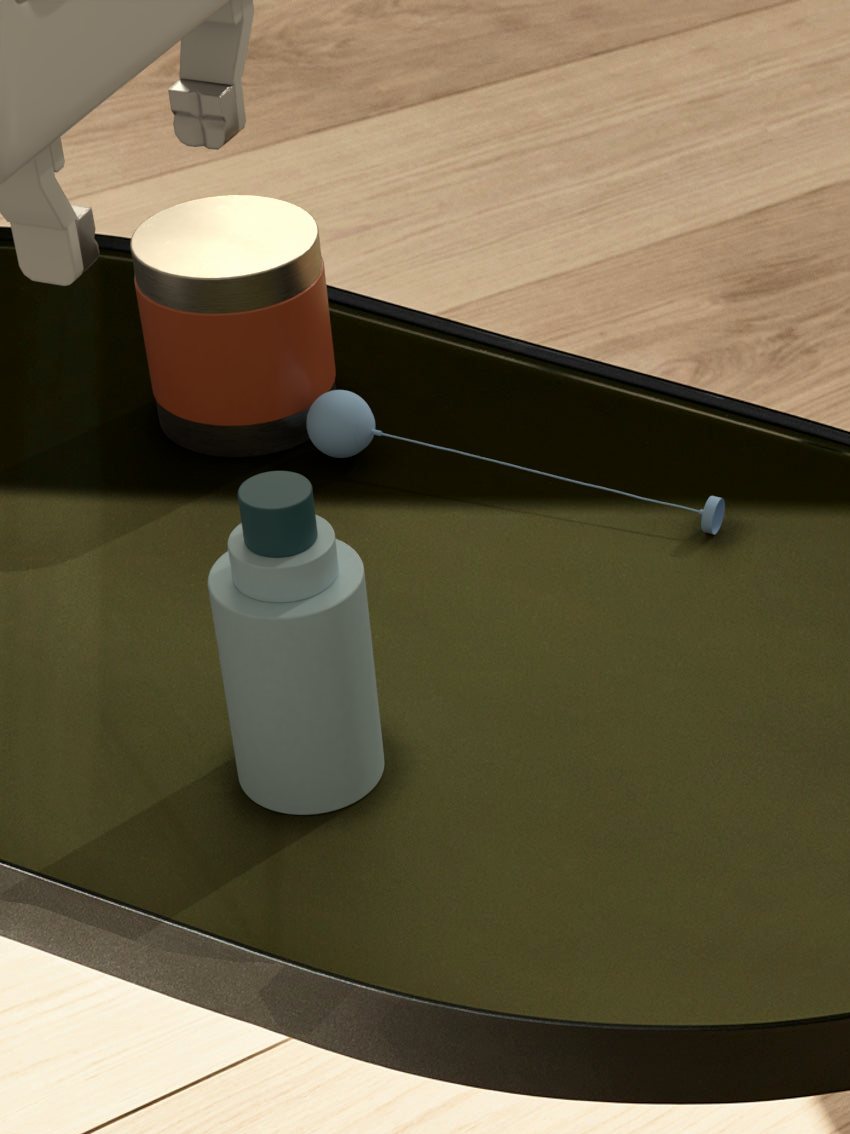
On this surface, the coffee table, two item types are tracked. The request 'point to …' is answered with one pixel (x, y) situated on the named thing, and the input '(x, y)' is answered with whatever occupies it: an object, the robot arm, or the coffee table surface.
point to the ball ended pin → (350, 426)
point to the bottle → (296, 653)
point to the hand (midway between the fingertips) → (140, 202)
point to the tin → (234, 322)
